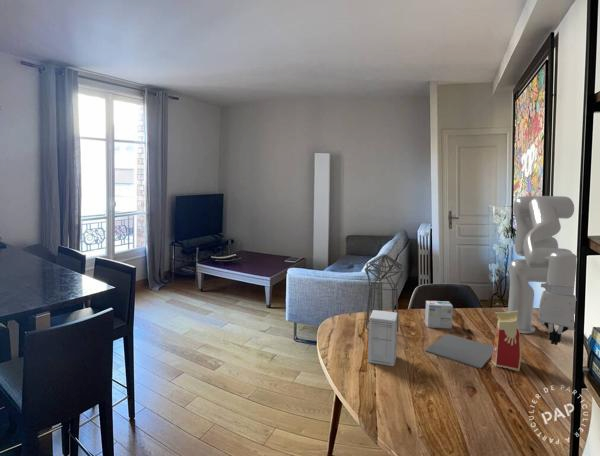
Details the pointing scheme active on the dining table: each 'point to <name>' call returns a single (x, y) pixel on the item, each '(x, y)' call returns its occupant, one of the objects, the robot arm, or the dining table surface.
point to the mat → (462, 350)
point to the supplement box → (382, 337)
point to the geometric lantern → (384, 283)
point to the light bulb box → (438, 314)
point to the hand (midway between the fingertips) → (554, 343)
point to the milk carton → (507, 342)
